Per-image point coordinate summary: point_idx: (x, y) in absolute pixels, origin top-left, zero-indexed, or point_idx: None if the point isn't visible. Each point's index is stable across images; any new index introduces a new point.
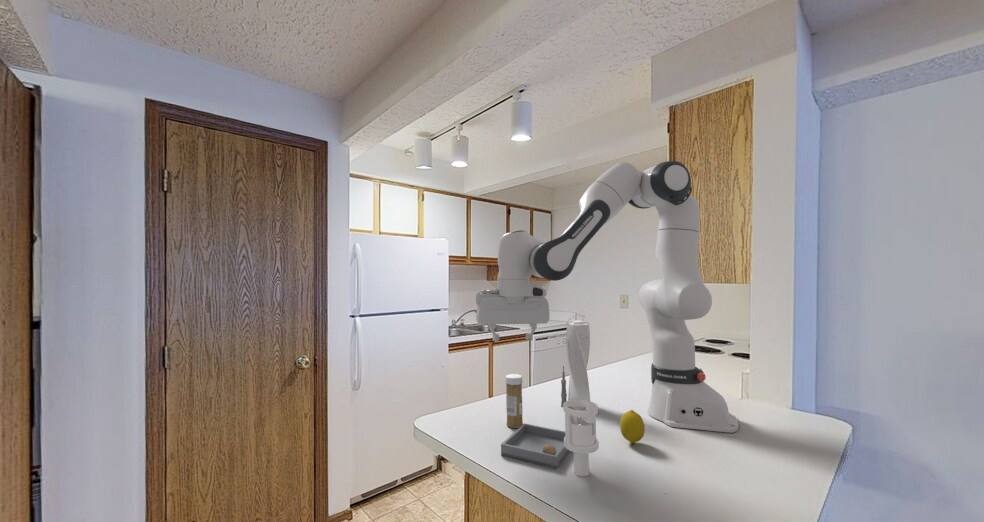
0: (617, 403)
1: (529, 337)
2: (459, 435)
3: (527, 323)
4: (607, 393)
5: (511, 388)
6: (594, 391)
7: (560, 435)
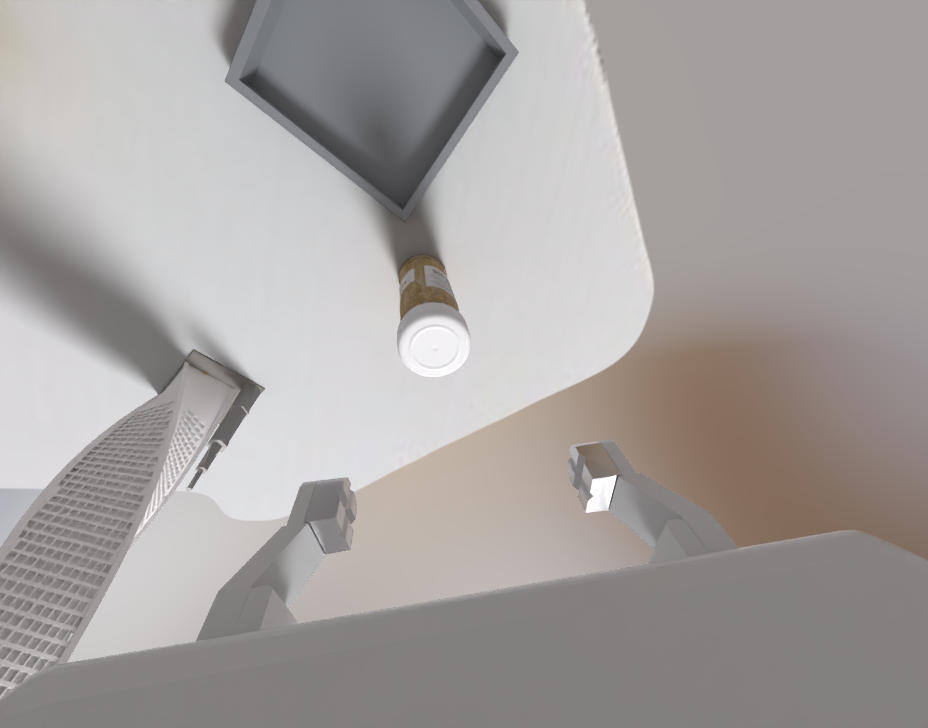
0: (54, 394)
1: (325, 493)
2: (583, 239)
3: (317, 621)
4: None
5: (448, 301)
6: None
7: (286, 115)
